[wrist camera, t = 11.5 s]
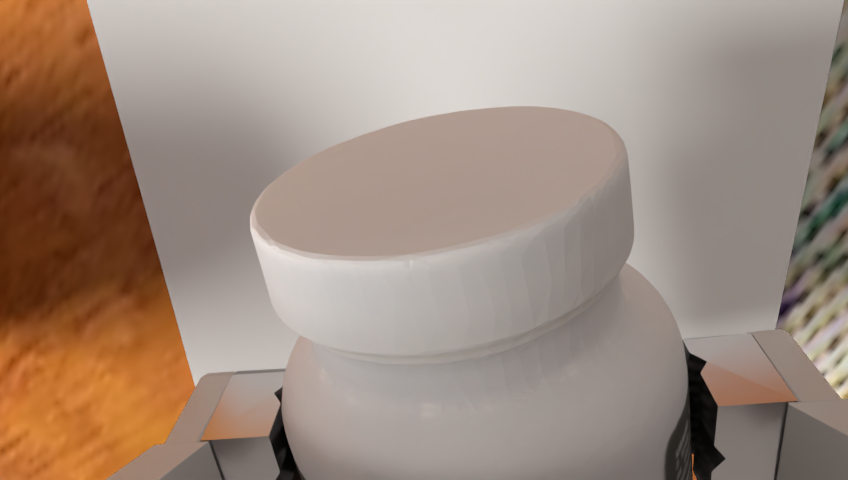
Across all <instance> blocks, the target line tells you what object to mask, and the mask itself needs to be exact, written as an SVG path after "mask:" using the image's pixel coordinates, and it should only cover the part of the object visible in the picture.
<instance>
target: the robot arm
mask: <svg viewBox="0 0 848 480" xmlns="http://www.w3.org/2000/svg"><path fill="white" fill-rule="evenodd" d="M682 341H683V345H684V350H685V358H686V364H687V368H688V378H689V398H690V427H691V452H692V454H694V465H693V471H694V474H695V476H696V478H697V480H848V399H841V398H840V397H839V395H838V394H837V393H836V392H835V390H834V389H833V388H832V387H831V385H830V384H829V383H828V382H827V380H826V379H825V378H824V377H823V375H822V374H821V373H820V372H819V370H818V369H817V368H816V367H815V365H814V364H813V363H812V362H811V360H810V359H809V358H808V357H807V355H806V354H805V353H804V352H803V350H802V349H801V348H800V347H799V345H798V344H797V343H796V342H795V340H794V339H793V338H792V337H791V335H790V334H789V333H788V332H787V331H785V330H783V329H775V330H765V331H756V332H746V334H735V335H723V336H711V337H699V338H687V339H682ZM285 370H286V368H283V369H265V370H246V371H237V372H234V371H231V372H217V373H208V374H206V375H204V376H202V377H201V378H200V380H199V382H198V384H197V386H196V387H195V389H194V391H193V393H192V395H191V396H190V398H189V400H188V402H187V404H186V405H185V407H184V409H183V411H182V413H181V414H180V416H179V418H178V420H177V422H176V424H175V425H174V427H173V429H172V431H171V433H170V434H169V436H168V438H167V440H166V442H165V443H164V444H160V445H154V446H153V447H151V448H150V449H148V450H147V451H145V452H144V453H143V454H141V455H140V456H138V457H137V458H136V459H134V460H133V461H131V462H130V463H128V464H127V465H126V466H124V467H123V468H121V469H120V470H119V471H117V472H116V473H114V474H113V475H112V476H110V477H109V478H107V479H106V480H302V479H301V477H300V475H299V472H298V470H297V467H296V464H295V461H294V458H293V454H292V451H291V449H290V446H289V443H288V440H287V436H286V433H285V429H284V424H283V419H282V410H281V409H282V389H283V381H284V375H285Z"/></svg>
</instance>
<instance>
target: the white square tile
mask: <svg viewBox="0 0 848 480" xmlns="http://www.w3.org/2000/svg"><path fill="white" fill-rule="evenodd" d="M87 3H88V7H89V10H90V14H91V17H92V21H93V24H94V28H95V32H96V35H97V39H98V42H99V46H100V49H101V53H102V57H103V60H104V64H105V67H106V71H107V74H108V78H109V81H110V85H111V89H112V92H113V96H114V99H115V103H116V106H117V110H118V113H119V117H120V121H121V124H122V128H123V131H124V135H125V138H126V142H127V146H128V149H129V153H130V156H131V160H132V163H133V167H134V170H135V174H136V178H137V181H138V185H139V188H140V192H141V195H142V199H143V202H144V206H145V210H146V213H147V217H148V220H149V224H150V227H151V231H152V235H153V238H154V242H155V245H156V249H157V252H158V256H159V259H160V263H161V267H162V270H163V274H164V277H165V281H166V284H167V288H168V291H169V295H170V299H171V302H172V306H173V309H174V313H175V316H176V320H177V324H178V327H179V331H180V334H181V338H182V341H183V345H184V348H185V352H186V356H187V359H188V363H189V366H190V370H191V373H192V377H193V380H194V384H195V387H196V386H197V384H198V382H199V380H200V378H201V377H202V376H204V375H206V374H208V373H217V372H231V371H234V372H237V371H246V370H265V369H283V368H286V367H287V364H288V361H289V358H290V355H291V352H292V350H293V348H294V346H295V344H296V342H297V340H298V338H299V336H300V335H299V334H298V333H297V332H295V331H294V330H292V329H291V328H289V327H288V326H287V325H286V324H285V323H284V322H283V321H282V320H281V319H280V317H279V316H278V315H277V313H276V311H275V309H274V308H273V305H272V303H271V299H270V296H269V292H268V289H267V286H266V282H265V279H264V275H263V272H262V268H261V265H260V261H259V258H258V254H257V251H256V248H255V245H254V241H253V238H252V234H251V231H250V215H251V212H252V209H253V206H254V204H255V202H256V200H257V199H258V198H259V196H260V195H261V193H262V192H263V191H264V190H265V189H266V188H267V187H268V186H269V185H270V184H271V183H272V182H274V181H275V180H276V179H277V178H278V177H280V176H281V175H282V174H283V173H285V172H286V171H288V170H289V169H291V168H292V167H294V166H295V165H297V164H299V163H300V162H302V161H304V160H305V159H307V158H309V157H311V156H313V155H315V154H317V153H319V152H321V151H323V150H325V149H327V148H330V147H332V146H334V145H337V144H339V143H342V142H345V141H347V140H350V139H353V138H355V137H358V136H361V135H363V134H366V133H369V132H372V131H376V130H379V129H382V128H385V127H388V126H392V125H395V124H399V123H402V122H406V121H410V120H415V119H419V118H423V117H428V116H434V115H440V114H445V113H451V112H457V111H465V110H474V109H484V108H496V107H510V106H536V107H549V108H558V109H564V110H570V111H574V112H579V113H583V114H586V115H589V116H592V117H594V118H597V119H599V120H601V121H603V122H605V123H606V124H608V125H609V126H610V127H612V128H613V129H614V130H615V131H616V132H617V133H618V134H619V135H620V137H621V139H622V140H623V141H624V144H625V147H626V150H627V154H628V161H629V172H630V182H631V194H632V206H633V219H634V242H633V246H632V249H631V252H630V255H629V257H628V259H627V261H626V263H627V264H629V265H630V266H632V267H633V268H634V269H636V270H637V271H639V272H640V273H641V274H642V275H643V276H644V277H645V278H646V279H647V280H648V281H649V282H650V283H651V284H652V285H653V286H654V287H655V288H656V289H657V291H658V292H659V293H660V294H661V296H662V297H663V299H664V300H665V302H666V303H667V305H668V307H669V308H670V310H671V312H672V314H673V316H674V318H675V320H676V322H677V325H678V327H679V330H680V333H681V337H682V339H687V338H699V337H711V336H723V335H735V334H746V332H756V331H765V330H775V329H776V324H777V319H778V314H779V310H780V305H781V300H782V295H783V291H784V286H785V281H786V276H787V271H788V267H789V262H790V257H791V252H792V248H793V243H794V238H795V233H796V228H797V224H798V219H799V214H800V209H801V204H802V200H803V195H804V190H805V185H806V181H807V176H808V171H809V166H810V161H811V157H812V152H813V147H814V142H815V138H816V133H817V128H818V123H819V118H820V114H821V109H822V104H823V99H824V94H825V90H826V85H827V80H828V75H829V71H830V66H831V61H832V56H833V51H834V47H835V42H836V37H837V32H838V28H839V23H840V18H841V13H842V8H843V4H844V0H87Z"/></svg>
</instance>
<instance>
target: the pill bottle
mask: <svg viewBox="0 0 848 480" xmlns="http://www.w3.org/2000/svg"><path fill="white" fill-rule="evenodd" d="M250 231H251V234H252V238H253V241H254V245H255V248H256V251H257V254H258V258H259V261H260V265H261V268H262V272H263V275H264V279H265V282H266V286H267V289H268V292H269V296H270V299H271V303H272V305H273V308H274V309H275V311H276V313H277V315H278V316H279V317H280V319H281V320H282V321H283V322H284V323H285V324H286V325H287V326H288V327H289V328H291V329H292V330H294V331H295V332H297V333H298V334H299V335H300V336H299V338H298V340H297V342H296V344H295V346H294V348H293V350H292V352H291V355H290V358H289V361H288V364H287V367H286V370H285V375H284V381H283V389H282V409H281V410H282V419H283V424H284V429H285V433H286V436H287V440H288V443H289V446H290V449H291V451H292V454H293V458H294V461H295V464H296V467H297V470H298V472H299V475H300V477H301V479H302V480H692V452H691V427H690V398H689V378H688V368H687V364H686V358H685V350H684V345H683V341H682V337H681V333H680V330H679V327H678V325H677V322H676V320H675V318H674V316H673V314H672V312H671V310H670V308H669V307H668V305H667V303H666V302H665V300H664V299H663V297H662V296H661V294H660V293H659V292H658V291H657V289H656V288H655V287H654V286H653V285H652V284H651V283H650V282H649V281H648V280H647V279H646V278H645V277H644V276H643V275H642V274H641V273H640V272H639V271H637V270H636V269H634V268H633V267H632V266H630V265H629V264H627V263H626V261H627V259H628V257H629V255H630V252H631V249H632V246H633V242H634V219H633V206H632V194H631V182H630V172H629V161H628V154H627V150H626V147H625V144H624V141H623V140H622V139H621V137H620V135H619V134H618V133H617V132H616V131H615V130H614V129H613V128H612V127H610V126H609V125H608V124H606V123H605V122H603V121H601V120H599V119H597V118H594V117H592V116H589V115H586V114H583V113H579V112H574V111H570V110H564V109H558V108H549V107H536V106H510V107H496V108H484V109H474V110H465V111H457V112H451V113H445V114H440V115H434V116H428V117H423V118H419V119H415V120H410V121H406V122H402V123H399V124H395V125H392V126H388V127H385V128H382V129H379V130H376V131H372V132H369V133H366V134H363V135H361V136H358V137H355V138H353V139H350V140H347V141H345V142H342V143H339V144H337V145H334V146H332V147H330V148H327V149H325V150H323V151H321V152H319V153H317V154H315V155H313V156H311V157H309V158H307V159H305V160H304V161H302V162H300V163H299V164H297V165H295V166H294V167H292V168H291V169H289V170H288V171H286V172H285V173H283V174H282V175H281V176H280V177H278V178H277V179H276V180H275V181H274V182H272V183H271V184H270V185H269V186H268V187H267V188H266V189H265V190H264V191H263V192H262V193H261V195H260V196H259V198H258V199H257V200H256V202H255V204H254V206H253V209H252V212H251V215H250Z"/></svg>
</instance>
